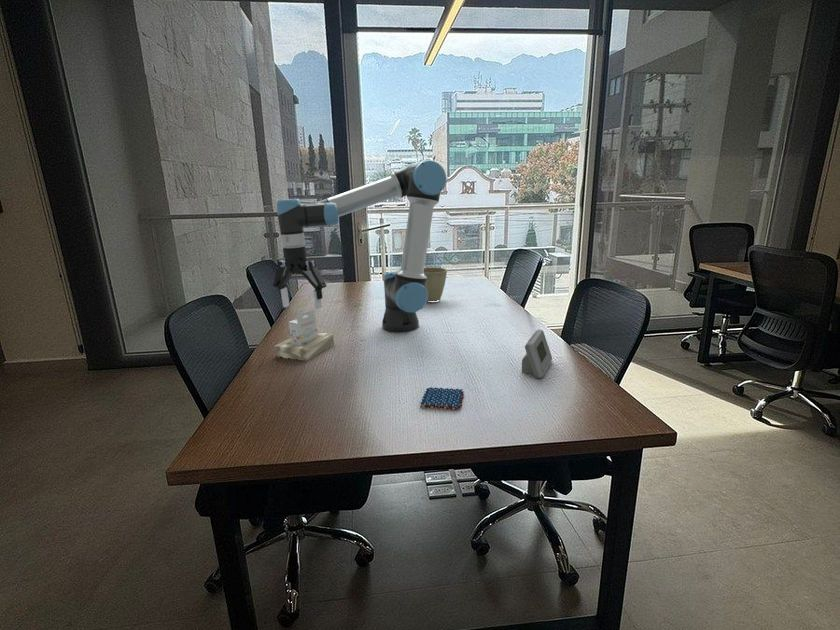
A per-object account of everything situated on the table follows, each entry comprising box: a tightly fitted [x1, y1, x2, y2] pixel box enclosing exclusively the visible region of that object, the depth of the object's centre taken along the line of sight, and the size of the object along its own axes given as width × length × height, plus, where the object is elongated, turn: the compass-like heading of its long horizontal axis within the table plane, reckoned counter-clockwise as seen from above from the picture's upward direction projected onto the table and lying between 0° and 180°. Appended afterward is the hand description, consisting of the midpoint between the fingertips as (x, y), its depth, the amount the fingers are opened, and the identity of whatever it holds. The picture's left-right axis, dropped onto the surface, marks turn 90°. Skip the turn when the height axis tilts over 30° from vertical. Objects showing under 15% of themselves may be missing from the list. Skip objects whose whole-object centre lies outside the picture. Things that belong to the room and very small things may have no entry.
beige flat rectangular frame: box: [274, 331, 335, 362], centre depth 155 cm, size 13×17×4 cm
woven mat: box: [420, 386, 465, 411], centre depth 115 cm, size 10×11×2 cm
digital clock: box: [521, 329, 553, 379], centre depth 132 cm, size 16×9×11 cm, turn 142°
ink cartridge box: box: [288, 309, 318, 346], centre depth 154 cm, size 9×5×15 cm, turn 147°
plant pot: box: [424, 267, 448, 301], centre depth 216 cm, size 15×15×16 cm
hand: (302, 307), depth 151 cm, fingers open, 13 cm apart
